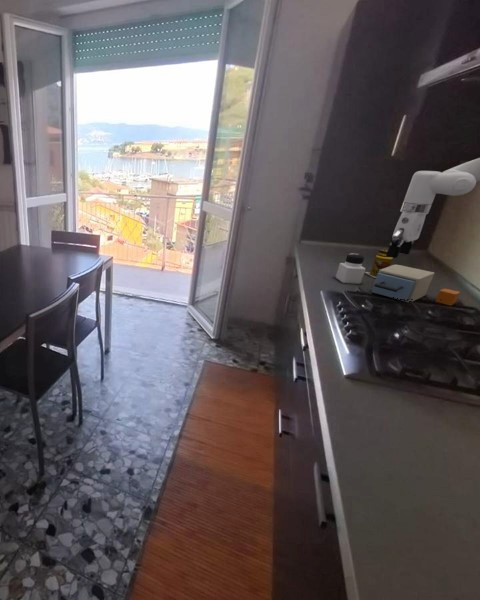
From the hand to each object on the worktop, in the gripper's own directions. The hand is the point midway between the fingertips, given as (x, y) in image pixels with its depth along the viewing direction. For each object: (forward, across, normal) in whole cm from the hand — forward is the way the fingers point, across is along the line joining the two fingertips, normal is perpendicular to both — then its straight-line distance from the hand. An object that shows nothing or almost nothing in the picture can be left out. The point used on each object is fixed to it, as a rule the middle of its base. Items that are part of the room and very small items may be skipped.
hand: (397, 255), depth 132 cm
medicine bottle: (+18, +11, +17) cm, 27 cm away
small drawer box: (+18, +12, -1) cm, 22 cm away
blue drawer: (+17, +6, -1) cm, 18 cm away
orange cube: (+18, +17, -14) cm, 28 cm away
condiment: (+18, +31, +14) cm, 39 cm away
